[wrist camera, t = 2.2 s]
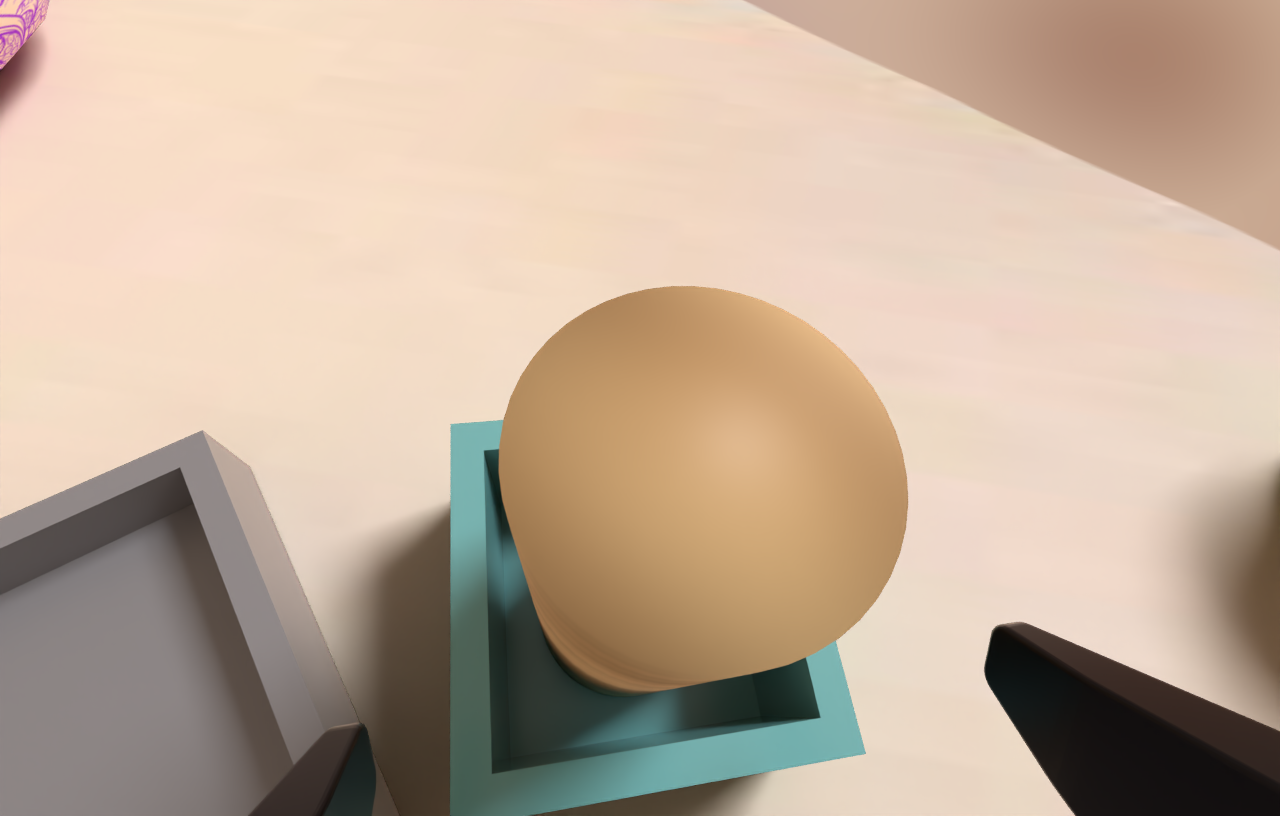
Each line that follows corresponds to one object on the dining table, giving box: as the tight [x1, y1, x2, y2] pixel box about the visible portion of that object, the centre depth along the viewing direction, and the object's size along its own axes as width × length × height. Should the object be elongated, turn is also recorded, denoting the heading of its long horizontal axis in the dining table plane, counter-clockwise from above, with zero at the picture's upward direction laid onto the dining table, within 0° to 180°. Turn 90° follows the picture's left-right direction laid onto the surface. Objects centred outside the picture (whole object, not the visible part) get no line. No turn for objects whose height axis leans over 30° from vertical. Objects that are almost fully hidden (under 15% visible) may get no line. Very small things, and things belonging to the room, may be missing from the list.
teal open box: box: [450, 420, 866, 816], centre depth 16 cm, size 9×9×5 cm
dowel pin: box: [499, 286, 908, 697], centre depth 12 cm, size 5×5×12 cm
